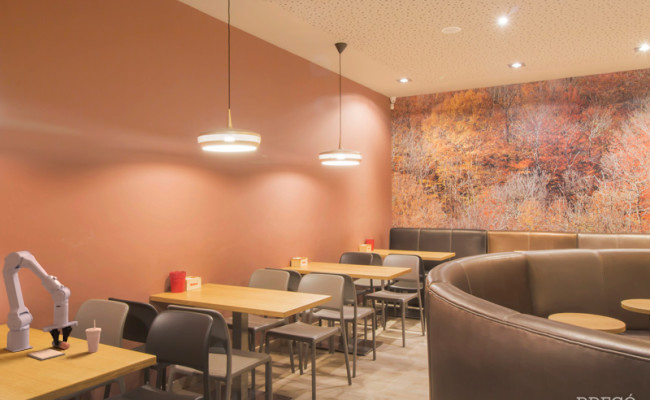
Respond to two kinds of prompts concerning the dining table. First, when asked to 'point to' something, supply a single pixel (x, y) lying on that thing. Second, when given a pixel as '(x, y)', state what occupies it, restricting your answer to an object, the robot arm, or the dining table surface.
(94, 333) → the smoothie
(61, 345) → the marker
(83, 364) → the dining table surface
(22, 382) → the dining table surface
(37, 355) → the notepad
